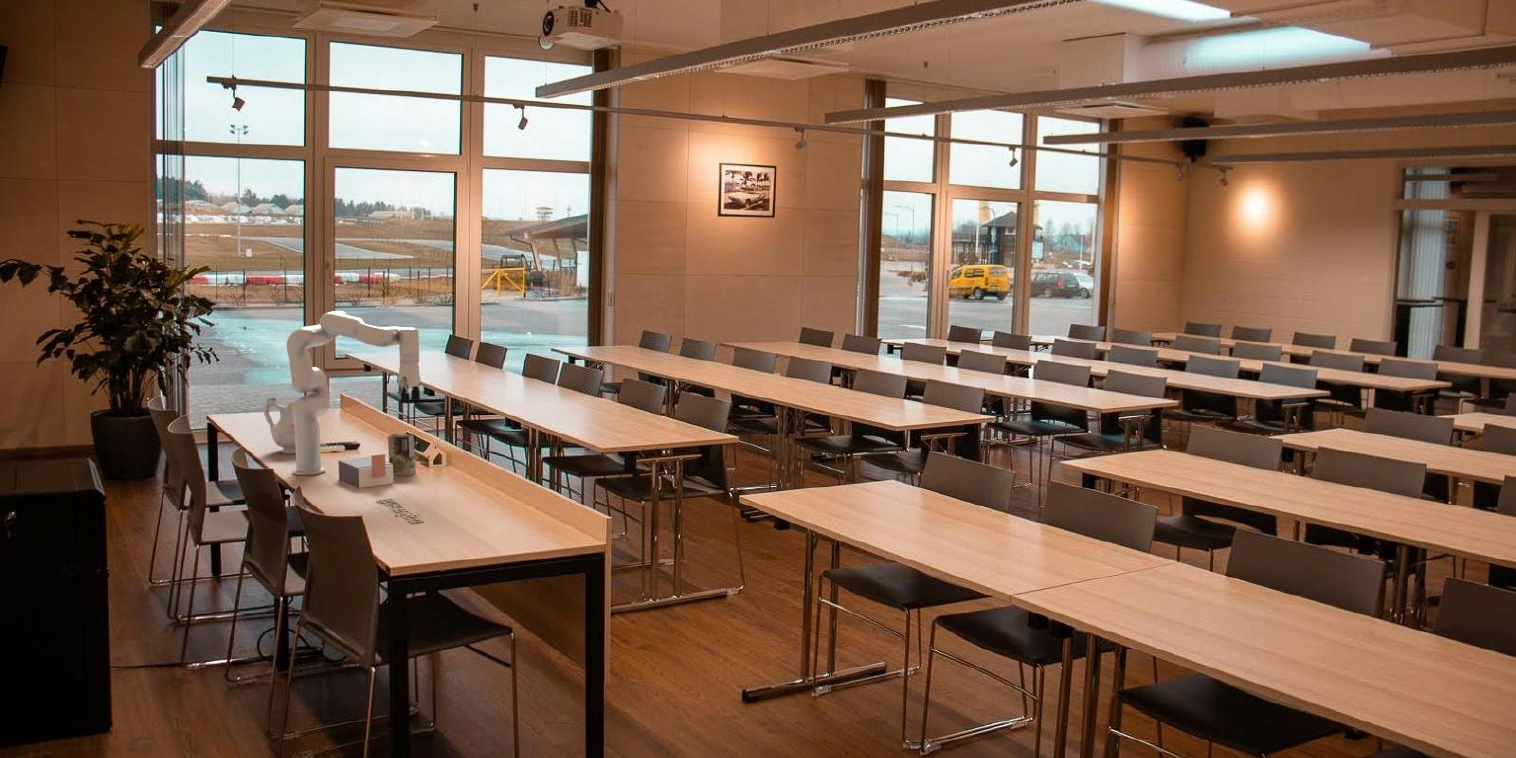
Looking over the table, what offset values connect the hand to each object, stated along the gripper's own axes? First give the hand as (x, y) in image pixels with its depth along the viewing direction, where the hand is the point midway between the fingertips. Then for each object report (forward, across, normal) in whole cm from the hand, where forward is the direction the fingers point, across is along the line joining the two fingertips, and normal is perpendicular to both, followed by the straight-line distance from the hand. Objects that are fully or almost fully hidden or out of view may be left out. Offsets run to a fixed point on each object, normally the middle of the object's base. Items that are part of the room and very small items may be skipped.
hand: (410, 401), depth 480 cm
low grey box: (+31, +11, -14) cm, 36 cm away
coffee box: (+31, -6, -7) cm, 33 cm away
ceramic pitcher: (+31, -41, -75) cm, 91 cm away
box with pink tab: (+31, +13, -12) cm, 36 cm away
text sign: (+32, +54, +20) cm, 66 cm away
